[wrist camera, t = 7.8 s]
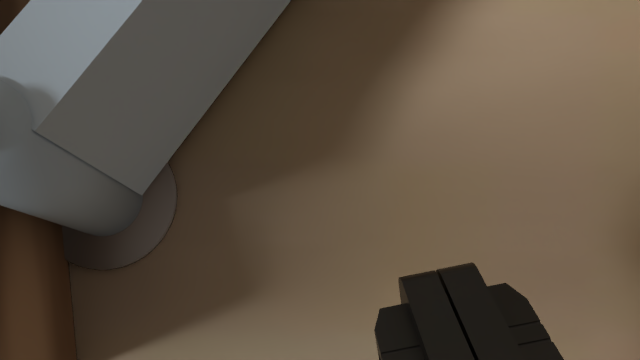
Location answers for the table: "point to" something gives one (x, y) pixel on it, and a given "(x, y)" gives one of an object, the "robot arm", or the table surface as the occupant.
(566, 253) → the table surface
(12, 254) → the frame rail
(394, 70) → the table surface
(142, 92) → the grey pivot lever
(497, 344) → the robot arm
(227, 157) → the table surface
